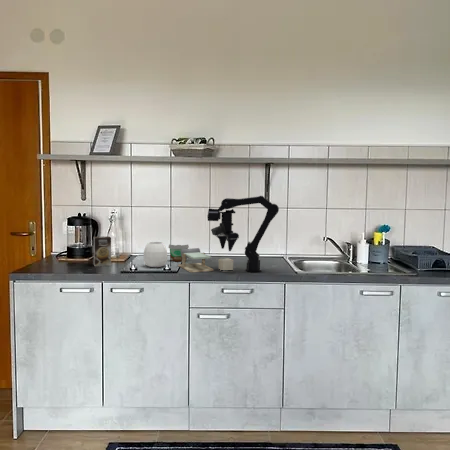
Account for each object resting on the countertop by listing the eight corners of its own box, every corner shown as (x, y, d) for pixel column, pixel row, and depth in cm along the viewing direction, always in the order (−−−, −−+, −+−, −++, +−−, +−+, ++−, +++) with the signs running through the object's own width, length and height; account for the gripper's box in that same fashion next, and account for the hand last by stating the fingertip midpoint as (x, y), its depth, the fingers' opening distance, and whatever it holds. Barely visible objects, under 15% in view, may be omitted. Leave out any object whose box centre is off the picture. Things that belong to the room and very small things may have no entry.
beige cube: (228, 268, 264) (228, 258, 263) (233, 270, 258) (233, 260, 258) (218, 269, 261) (218, 258, 261) (223, 271, 256) (223, 260, 255)
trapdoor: (197, 256, 274) (197, 247, 273) (210, 262, 255) (211, 252, 255) (180, 257, 269) (180, 248, 269) (193, 263, 251) (193, 253, 251)
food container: (169, 262, 280) (169, 245, 279) (168, 260, 286) (168, 244, 285) (189, 262, 282) (190, 245, 281) (188, 260, 288) (188, 243, 287)
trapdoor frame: (199, 264, 274) (200, 251, 273) (213, 270, 257) (213, 256, 256) (178, 266, 269) (178, 252, 268) (190, 272, 251) (190, 257, 250)
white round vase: (140, 265, 269) (140, 241, 268) (162, 263, 275) (162, 240, 274) (147, 269, 258) (147, 244, 256) (170, 267, 264) (170, 243, 262)
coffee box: (94, 266, 262) (94, 237, 260) (93, 264, 268) (93, 236, 266) (111, 265, 265) (111, 237, 264) (109, 263, 271) (109, 236, 270)
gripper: (206, 220, 262) (206, 248, 264) (220, 223, 245) (219, 253, 247) (224, 219, 267) (224, 247, 268) (239, 222, 250) (238, 252, 252)
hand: (226, 249), depth 259 cm, fingers open, 9 cm apart
